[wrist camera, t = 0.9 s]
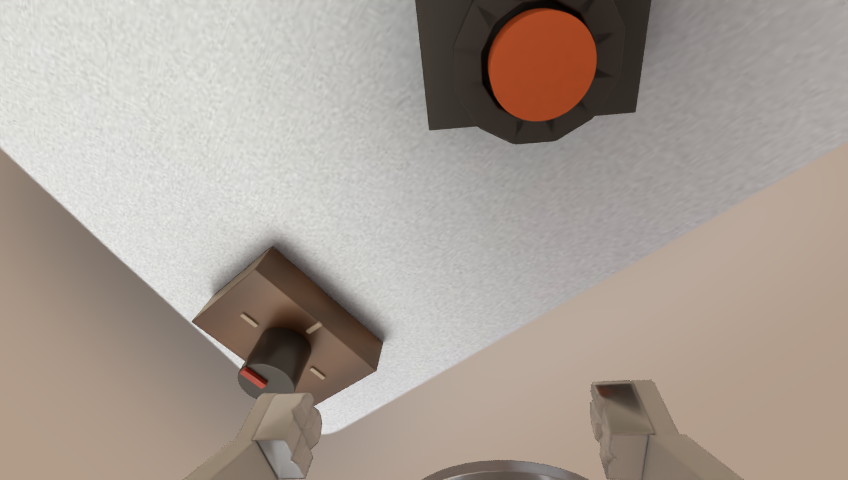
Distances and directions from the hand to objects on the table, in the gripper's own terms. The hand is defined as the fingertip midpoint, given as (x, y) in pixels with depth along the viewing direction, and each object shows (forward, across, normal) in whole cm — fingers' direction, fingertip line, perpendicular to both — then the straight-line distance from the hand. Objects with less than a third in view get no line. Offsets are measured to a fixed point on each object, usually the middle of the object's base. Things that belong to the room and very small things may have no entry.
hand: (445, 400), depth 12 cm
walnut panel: (+17, -15, -11) cm, 25 cm away
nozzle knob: (+14, -15, -11) cm, 23 cm away
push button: (+11, +4, +7) cm, 14 cm away
